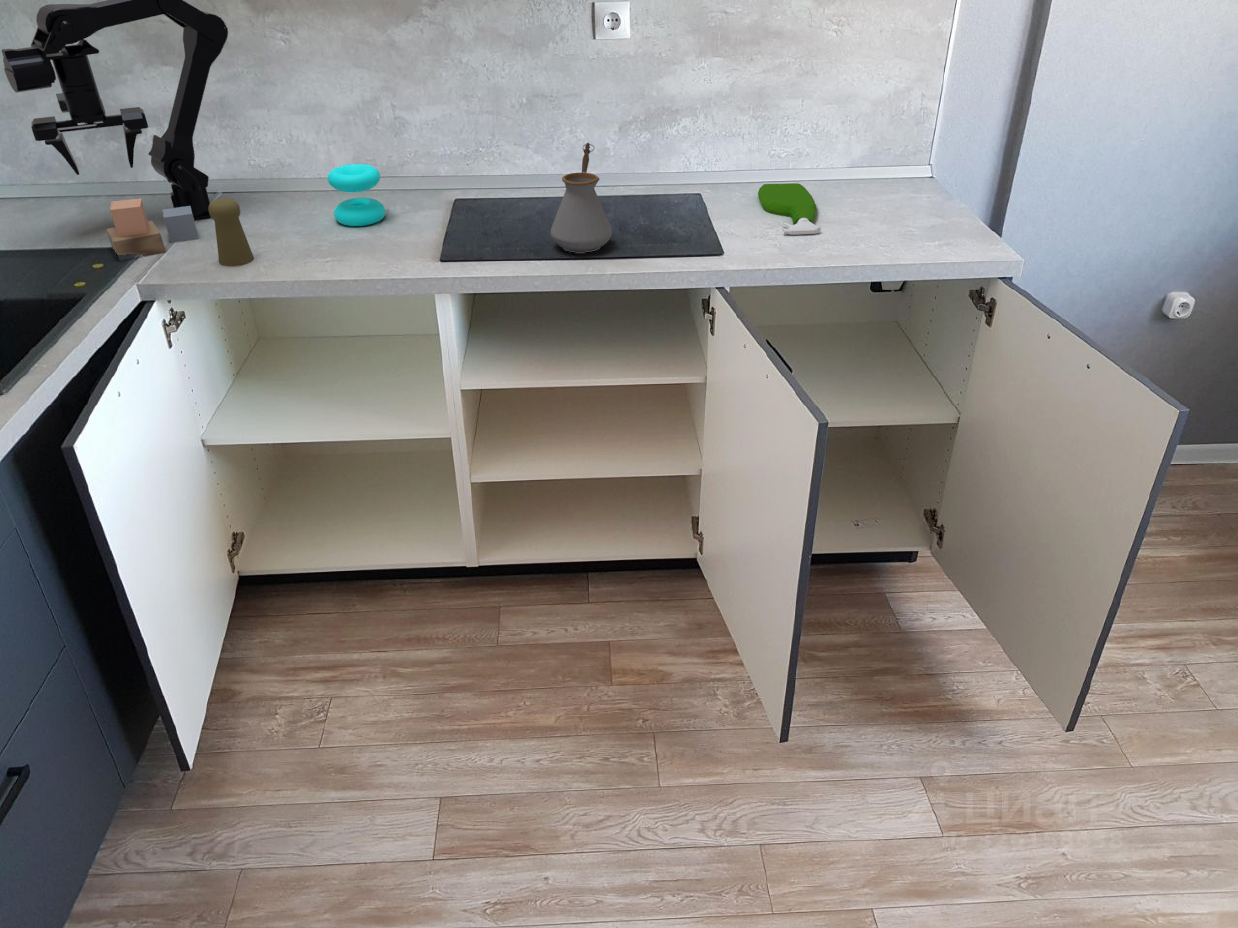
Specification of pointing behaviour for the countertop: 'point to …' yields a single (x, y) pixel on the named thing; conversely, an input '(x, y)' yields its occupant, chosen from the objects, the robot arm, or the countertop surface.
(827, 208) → the countertop surface
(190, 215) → the slate grey cube
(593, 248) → the coffee pot
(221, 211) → the olive pawn
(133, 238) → the walnut base block
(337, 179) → the donuts
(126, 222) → the terracotta cube
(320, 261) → the countertop surface
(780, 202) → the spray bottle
